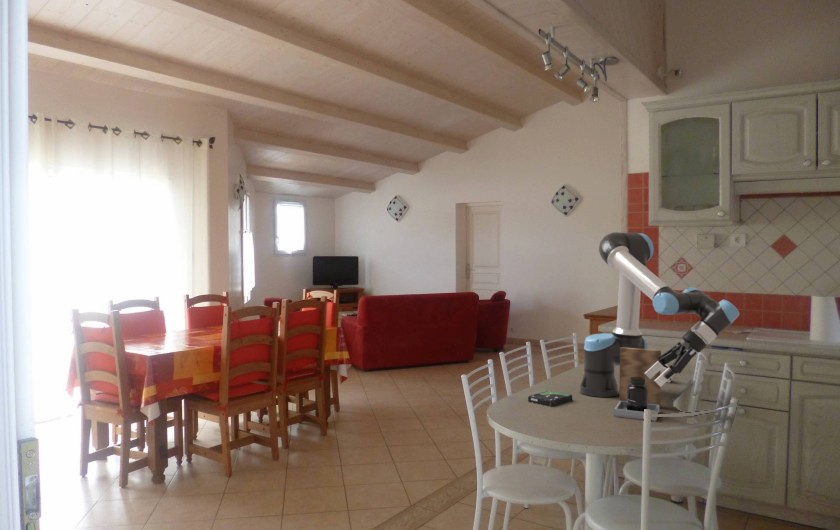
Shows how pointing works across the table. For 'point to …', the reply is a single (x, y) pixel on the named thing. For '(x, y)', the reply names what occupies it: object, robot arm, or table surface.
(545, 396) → the disk drive
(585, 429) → the table surface
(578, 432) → the table surface
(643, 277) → the robot arm
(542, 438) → the table surface
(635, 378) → the supplement bottle
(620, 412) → the tray
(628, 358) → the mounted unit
